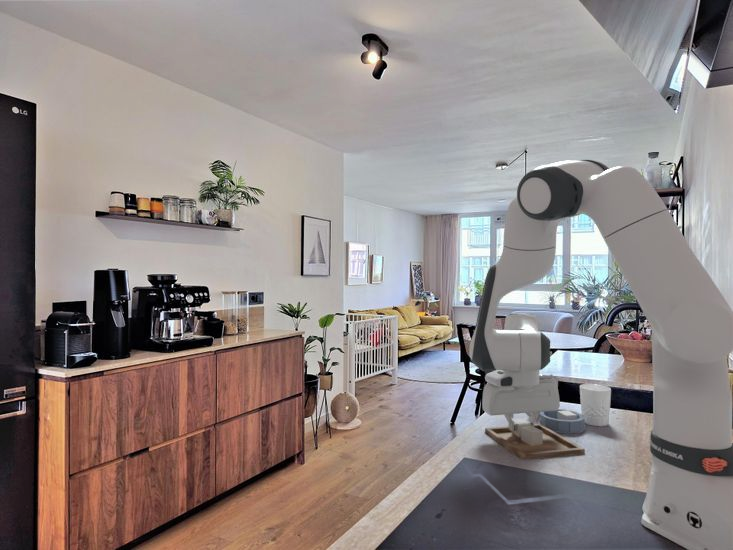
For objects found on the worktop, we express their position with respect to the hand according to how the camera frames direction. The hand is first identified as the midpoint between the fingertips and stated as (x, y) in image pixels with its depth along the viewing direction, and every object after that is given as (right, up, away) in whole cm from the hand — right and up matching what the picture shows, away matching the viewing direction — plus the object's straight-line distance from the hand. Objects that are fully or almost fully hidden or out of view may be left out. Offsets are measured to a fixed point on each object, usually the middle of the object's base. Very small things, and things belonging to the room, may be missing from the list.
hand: (521, 429), depth 118 cm
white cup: (+25, -2, +11) cm, 27 cm away
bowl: (+13, -2, +7) cm, 15 cm away
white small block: (+15, -1, +7) cm, 17 cm away
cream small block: (0, -1, 0) cm, 1 cm away
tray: (+1, -2, -5) cm, 5 cm away
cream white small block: (+1, -1, -5) cm, 5 cm away
